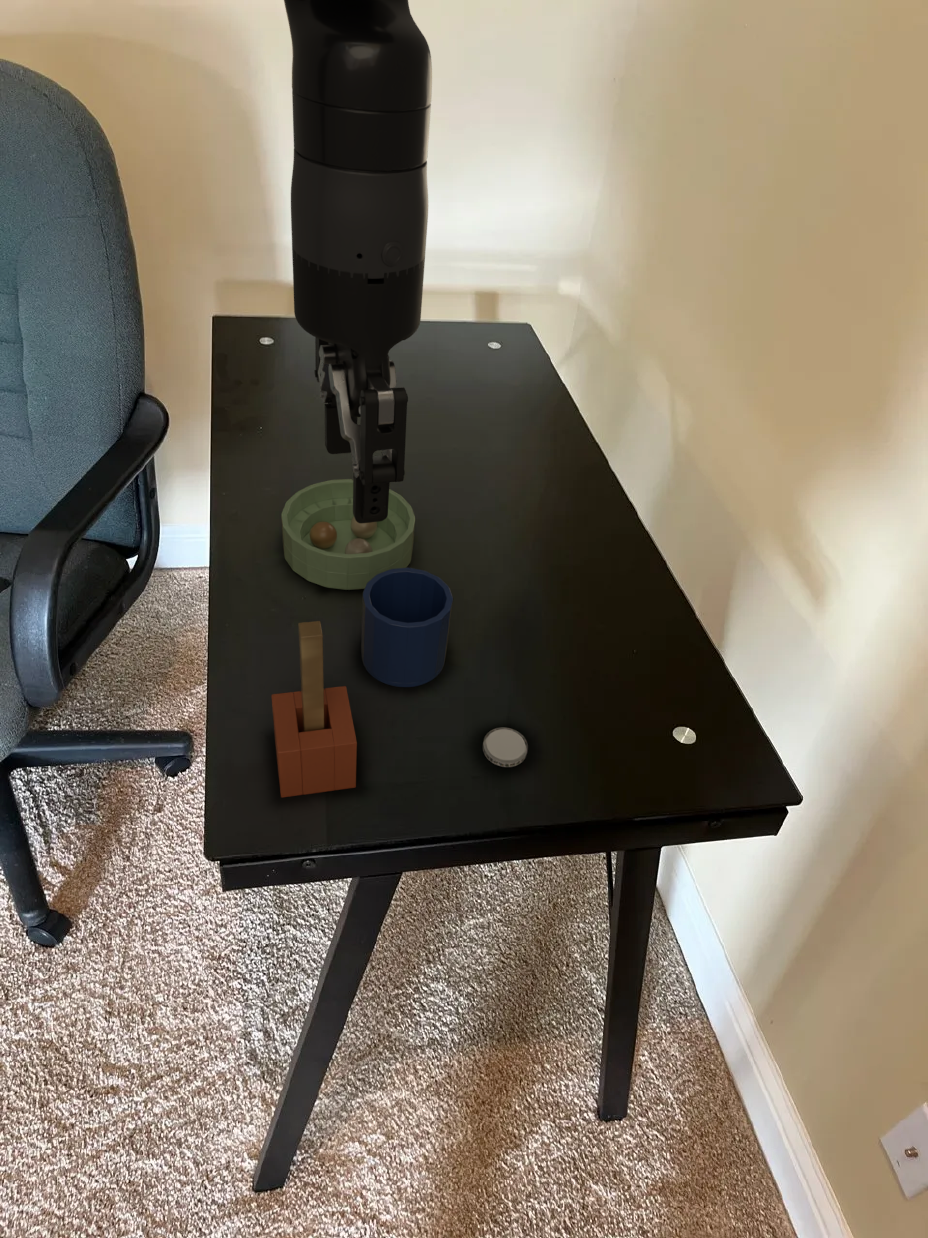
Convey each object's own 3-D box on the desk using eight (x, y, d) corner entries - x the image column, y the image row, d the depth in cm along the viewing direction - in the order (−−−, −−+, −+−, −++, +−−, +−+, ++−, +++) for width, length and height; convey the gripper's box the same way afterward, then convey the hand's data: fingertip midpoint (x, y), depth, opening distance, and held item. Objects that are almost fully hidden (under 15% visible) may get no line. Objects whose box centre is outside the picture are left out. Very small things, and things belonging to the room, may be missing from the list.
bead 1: (311, 555, 91) (310, 533, 89) (308, 538, 93) (307, 516, 91) (338, 553, 91) (338, 531, 89) (335, 536, 93) (335, 515, 91)
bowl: (290, 599, 86) (288, 561, 83) (278, 518, 96) (276, 482, 92) (423, 588, 89) (426, 552, 86) (399, 511, 99) (401, 476, 96)
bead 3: (346, 572, 89) (346, 550, 87) (342, 555, 91) (343, 533, 89) (374, 570, 90) (375, 548, 88) (369, 553, 92) (370, 531, 90)
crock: (368, 692, 78) (371, 630, 72) (355, 632, 83) (357, 571, 78) (453, 682, 80) (461, 622, 74) (435, 624, 85) (441, 564, 80)
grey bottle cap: (534, 759, 74) (535, 755, 73) (494, 772, 72) (495, 767, 72) (514, 726, 76) (515, 722, 76) (475, 738, 75) (476, 734, 74)
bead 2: (352, 545, 93) (352, 523, 91) (348, 529, 95) (348, 507, 93) (378, 543, 93) (379, 521, 91) (374, 527, 95) (375, 505, 93)
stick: (306, 772, 70) (300, 637, 59) (304, 757, 71) (298, 622, 61) (325, 769, 71) (322, 635, 60) (322, 754, 72) (320, 620, 61)
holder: (280, 798, 68) (277, 753, 64) (274, 739, 72) (271, 693, 68) (355, 787, 70) (356, 742, 66) (345, 731, 74) (345, 685, 70)
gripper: (270, 200, 50) (282, 435, 61) (320, 294, 41) (323, 552, 52) (389, 201, 53) (380, 427, 64) (462, 290, 43) (437, 538, 54)
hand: (354, 483), depth 58 cm, fingers open, 8 cm apart
